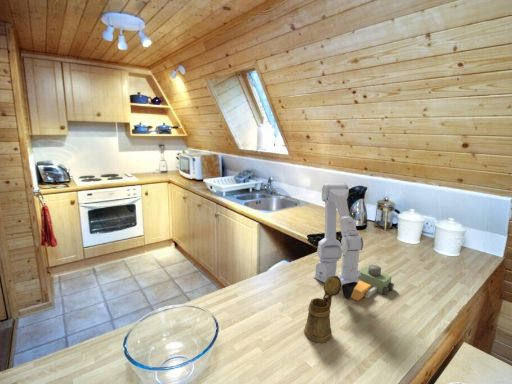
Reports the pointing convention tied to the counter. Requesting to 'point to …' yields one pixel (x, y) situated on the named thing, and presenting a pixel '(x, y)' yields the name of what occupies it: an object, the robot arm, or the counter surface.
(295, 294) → the counter surface
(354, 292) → the orange slab
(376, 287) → the mower housing
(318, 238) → the egg carton
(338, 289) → the wooden mug
